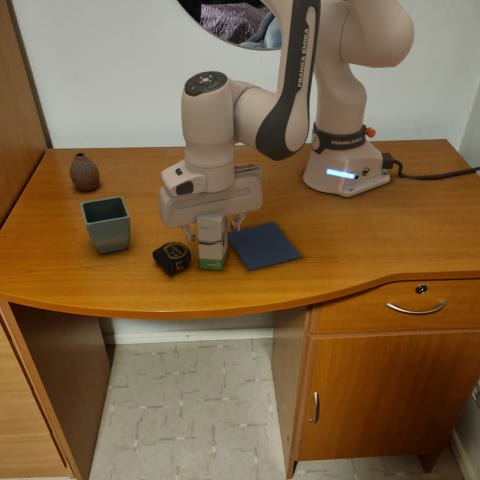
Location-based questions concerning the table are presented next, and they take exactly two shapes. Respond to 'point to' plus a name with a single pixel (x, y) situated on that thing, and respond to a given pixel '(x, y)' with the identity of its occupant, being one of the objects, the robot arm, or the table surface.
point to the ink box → (212, 240)
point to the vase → (84, 172)
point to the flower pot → (107, 223)
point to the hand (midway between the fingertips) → (213, 235)
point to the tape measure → (172, 257)
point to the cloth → (262, 246)
